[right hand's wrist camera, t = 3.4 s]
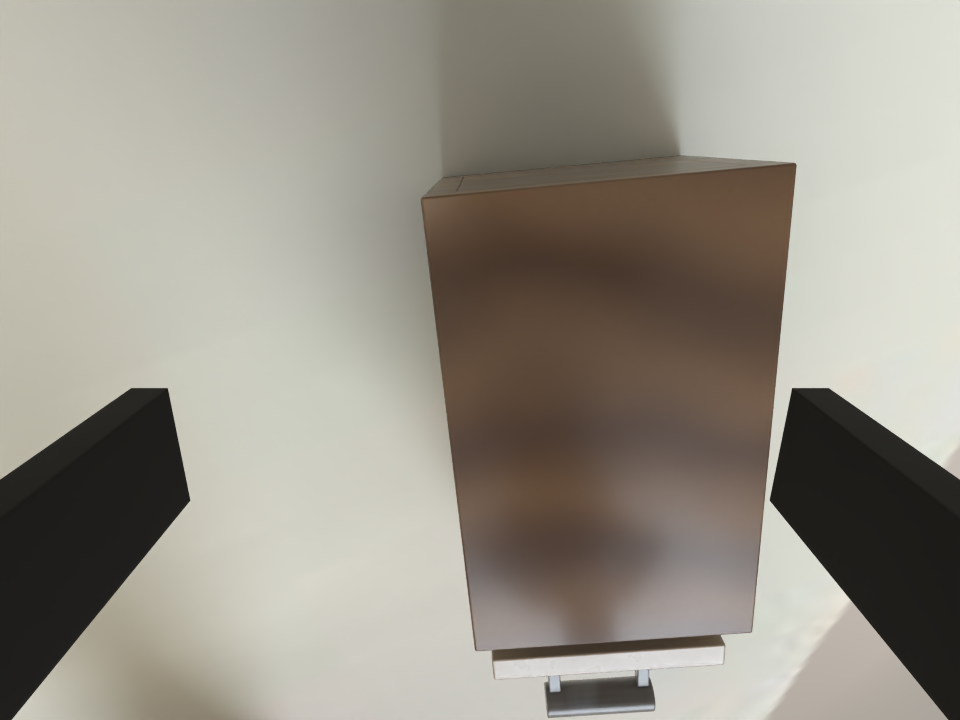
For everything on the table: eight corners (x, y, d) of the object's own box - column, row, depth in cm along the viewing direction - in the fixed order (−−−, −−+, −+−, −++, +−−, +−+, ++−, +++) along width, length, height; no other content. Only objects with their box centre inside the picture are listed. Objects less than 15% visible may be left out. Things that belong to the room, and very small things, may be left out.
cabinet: (671, 487, 35) (752, 633, 24) (476, 502, 35) (475, 651, 25) (681, 155, 28) (797, 162, 18) (441, 177, 29) (420, 197, 18)
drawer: (664, 616, 37) (717, 754, 29) (498, 627, 37) (503, 768, 29) (673, 248, 29) (753, 292, 20) (461, 267, 29) (455, 317, 21)
